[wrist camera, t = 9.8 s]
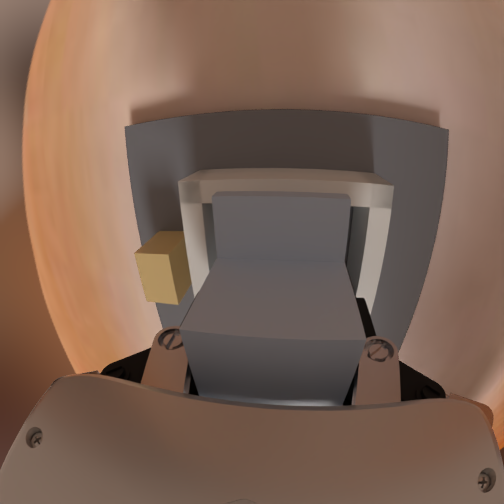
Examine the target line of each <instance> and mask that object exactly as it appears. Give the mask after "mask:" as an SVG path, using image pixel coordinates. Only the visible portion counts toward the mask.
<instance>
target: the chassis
mask: <svg viewBox="0 0 504 504" xmlns="http://www.w3.org/2000/svg"><path fill="white" fill-rule="evenodd" d="M448 136H449V130H448V129H444V128H440V127H436V126H431V125H427V124H422V123H417V122H412V121H407V120H401V119H396V118H389V117H383V116H375V115H368V114H359V113H349V112H338V111H322V110H295V109H270V110H242V111H227V112H215V113H205V114H196V115H188V116H181V117H174V118H168V119H162V120H156V121H150V122H145V123H140V124H135V125H130V126H126V127H125V137H126V148H127V158H128V166H129V174H130V182H131V189H132V195H133V202H134V208H135V214H136V219H137V225H138V230H139V235H140V240H141V245H142V247H141V248H140V249H138V250H137V251H136V252H135V253H134V254H135V258H136V262H137V266H138V270H139V274H140V278H141V282H142V285H143V289H144V293H145V296H146V300H147V301H149V302H155V303H156V307H157V310H158V314H159V317H160V320H161V324H162V327H163V329H164V328H167V327H170V326H180V325H181V323H182V321H183V319H184V317H185V316H186V314H187V312H188V310H189V308H190V306H191V304H192V302H193V300H194V299H195V297H196V295H197V293H198V292H199V291H200V289H201V287H202V285H203V283H204V281H205V279H206V277H207V276H208V274H209V272H210V270H211V268H212V266H213V265H214V263H215V261H216V259H217V250H216V240H215V230H214V219H213V208H212V196H213V195H214V194H215V193H216V192H221V191H285V192H318V193H339V194H348V196H349V197H350V198H351V207H350V218H349V228H348V238H347V246H346V254H345V265H346V268H347V269H348V272H349V275H350V279H351V282H352V285H353V288H354V292H355V295H356V298H365V300H366V304H367V307H368V310H369V313H370V316H371V319H372V323H373V326H374V329H375V333H376V336H381V337H385V338H387V339H389V340H391V341H392V342H393V343H394V344H395V345H396V347H397V350H398V352H399V350H400V347H401V345H402V343H403V340H404V338H405V335H406V333H407V330H408V328H409V325H410V322H411V320H412V317H413V314H414V311H415V309H416V306H417V303H418V300H419V297H420V294H421V291H422V287H423V284H424V281H425V277H426V274H427V270H428V267H429V263H430V259H431V255H432V251H433V247H434V243H435V238H436V233H437V229H438V224H439V218H440V213H441V207H442V200H443V193H444V186H445V177H446V168H447V155H448Z"/></svg>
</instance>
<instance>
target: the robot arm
mask: <svg viewBox="0 0 504 504" xmlns="http://www.w3.org/2000/svg"><path fill="white" fill-rule="evenodd" d="M347 272H348V269H347ZM348 275H349V272H348ZM349 278H350V275H349ZM350 281H351V279H350ZM351 285H352V282H351ZM352 288H353V285H352ZM353 292H354V288H353ZM197 294H198V293H197ZM354 295H355V292H354ZM196 296H197V295H196ZM195 298H196V297H195ZM355 298H356V295H355ZM194 300H195V299H194ZM194 300H193V302H194ZM193 302H192V304H193ZM356 302H357V306H358V309H359V313H360V317H361V320H362V324H363V328H364V332H365V336H366V342H365V346H364V349H363V352H362V355H361V357H360V360H359V363H358V366H357V369H356V371H355V374H354V377H353V380H352V382H351V385H350V387H349V390H348V392H347V395H346V397H345V400H344V402H343V404H342V406H290V405H271V404H259V403H248V402H239V401H230V400H223V399H216V398H209V397H203V396H199V394H198V391H197V388H196V385H195V381H194V378H193V375H192V372H191V369H190V366H189V362H188V359H187V355H186V352H185V349H184V345H183V342H182V338H181V334H180V331H179V329H180V327H181V325H182V323H183V321H184V319H185V317H186V316H185V317H184V319H183V321H182V323H181V325H180V326H170V327H167V328H164V329H162V330H161V331H159V332H158V333H157V334H156V336H155V338H154V341H153V344H152V347H151V348H149V349H146V350H144V351H142V352H139V353H137V354H134V355H132V356H129V357H126V358H124V359H121V360H119V361H116V362H114V363H111V364H109V365H107V366H106V367H105V368H104V369H103V371H102V372H101V373H99V372H98V371H93V372H87V373H82V374H73V375H67V376H64V377H61V378H58V379H56V380H55V381H54V382H53V383H52V384H51V387H50V388H49V389H48V390H47V391H46V393H45V394H44V395H43V396H42V397H41V399H40V400H39V402H38V403H37V404H36V406H35V407H34V409H33V410H32V412H31V413H30V415H29V417H28V418H27V419H26V421H25V423H24V425H23V426H22V428H21V430H20V432H19V434H18V435H17V437H16V439H15V441H14V443H13V445H12V446H11V448H10V450H9V452H8V454H7V456H6V459H5V461H4V463H3V465H2V468H1V470H0V504H504V468H503V463H502V458H501V454H500V450H499V447H498V443H497V440H496V437H495V434H494V432H493V429H492V425H493V413H492V410H491V409H490V408H489V407H488V406H487V405H485V404H482V403H479V402H476V401H473V400H470V399H467V398H464V397H461V396H458V395H456V394H453V393H449V395H446V394H445V391H444V389H443V388H442V387H441V386H440V385H439V384H438V383H436V382H435V381H433V380H431V379H429V378H428V377H426V376H424V375H423V374H421V373H419V372H418V371H416V370H414V369H413V368H411V367H409V366H407V365H406V364H404V363H402V362H401V361H399V357H398V350H397V347H396V345H395V344H394V343H393V342H392V341H391V340H389V339H387V338H385V337H381V336H376V333H375V329H374V326H373V323H372V319H371V316H370V313H369V310H368V307H367V304H366V300H365V298H356ZM192 304H191V306H192ZM191 306H190V307H191ZM189 309H190V308H189ZM188 311H189V310H188ZM187 313H188V312H187ZM186 315H187V314H186Z"/></svg>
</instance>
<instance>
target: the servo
mask: <svg viewBox="0 0 504 504" xmlns="http://www.w3.org/2000/svg"><path fill="white" fill-rule="evenodd" d="M350 207H351V198H350V197H349V196H348V194H339V193H318V192H285V191H221V192H216V193H215V194H214V195H213V196H212V208H213V219H214V230H215V240H216V250H217V259H216V261H215V263H214V265H213V266H212V268H211V270H210V272H209V274H208V276H207V277H206V279H205V281H204V283H203V285H202V287H201V289H200V291H199V292H198V294H197V296H196V298H195V300H194V302H193V304H192V306H191V307H190V309H189V311H188V313H187V315H186V317H185V319H184V321H183V323H182V325H181V327H180V329H179V331H180V334H181V338H182V342H183V345H184V349H185V352H186V355H187V359H188V362H189V366H190V369H191V372H192V375H193V378H194V381H195V385H196V388H197V391H198V394H199V396H203V397H209V398H216V399H223V400H230V401H239V402H248V403H259V404H271V405H290V406H342V404H343V402H344V400H345V397H346V395H347V392H348V390H349V387H350V385H351V382H352V380H353V377H354V374H355V371H356V369H357V366H358V363H359V360H360V357H361V355H362V352H363V349H364V346H365V342H366V336H365V332H364V328H363V324H362V320H361V317H360V313H359V309H358V306H357V302H356V298H355V295H354V292H353V288H352V285H351V281H350V278H349V275H348V272H347V268H346V265H345V254H346V246H347V238H348V228H349V218H350Z"/></svg>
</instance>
